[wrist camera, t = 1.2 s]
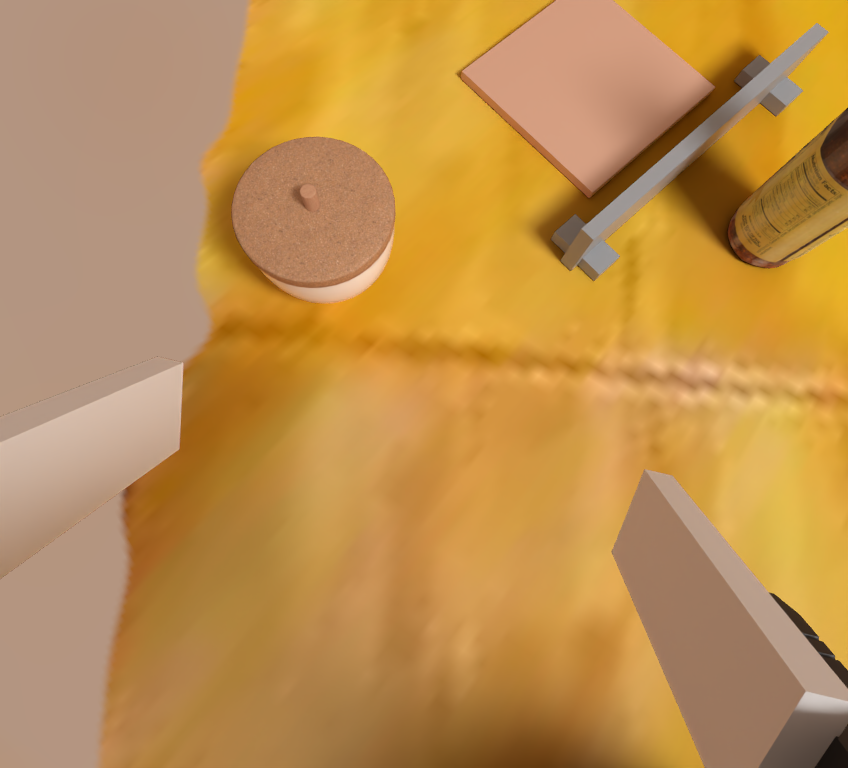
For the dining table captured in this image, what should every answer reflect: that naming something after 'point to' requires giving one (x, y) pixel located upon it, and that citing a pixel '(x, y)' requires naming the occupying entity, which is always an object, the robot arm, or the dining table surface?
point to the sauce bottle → (796, 203)
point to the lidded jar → (316, 218)
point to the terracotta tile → (587, 87)
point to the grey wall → (684, 155)
